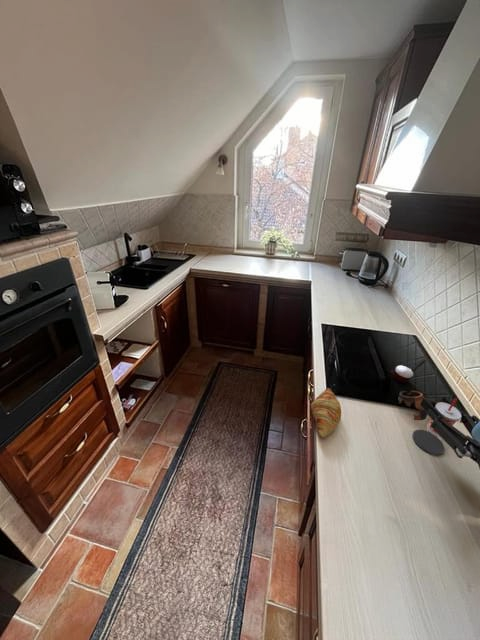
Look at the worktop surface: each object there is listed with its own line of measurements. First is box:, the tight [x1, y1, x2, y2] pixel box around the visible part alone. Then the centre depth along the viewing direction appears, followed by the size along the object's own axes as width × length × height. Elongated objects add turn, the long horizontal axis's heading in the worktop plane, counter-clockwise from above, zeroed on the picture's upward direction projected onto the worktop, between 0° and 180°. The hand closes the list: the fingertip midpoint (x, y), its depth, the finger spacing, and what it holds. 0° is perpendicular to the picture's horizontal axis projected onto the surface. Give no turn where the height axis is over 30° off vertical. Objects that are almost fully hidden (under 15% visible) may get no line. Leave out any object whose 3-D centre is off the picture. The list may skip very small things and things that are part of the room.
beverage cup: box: [426, 397, 461, 438], centre depth 74 cm, size 6×6×14 cm
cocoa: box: [390, 357, 428, 383], centre depth 102 cm, size 10×6×12 cm, turn 54°
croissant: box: [310, 387, 342, 439], centre depth 88 cm, size 21×10×8 cm, turn 159°
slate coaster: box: [412, 429, 445, 456], centre depth 81 cm, size 9×9×1 cm
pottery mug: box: [397, 390, 439, 422], centre depth 91 cm, size 12×10×8 cm
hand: (432, 400), depth 79 cm, fingers closed on beverage cup, 6 cm apart
